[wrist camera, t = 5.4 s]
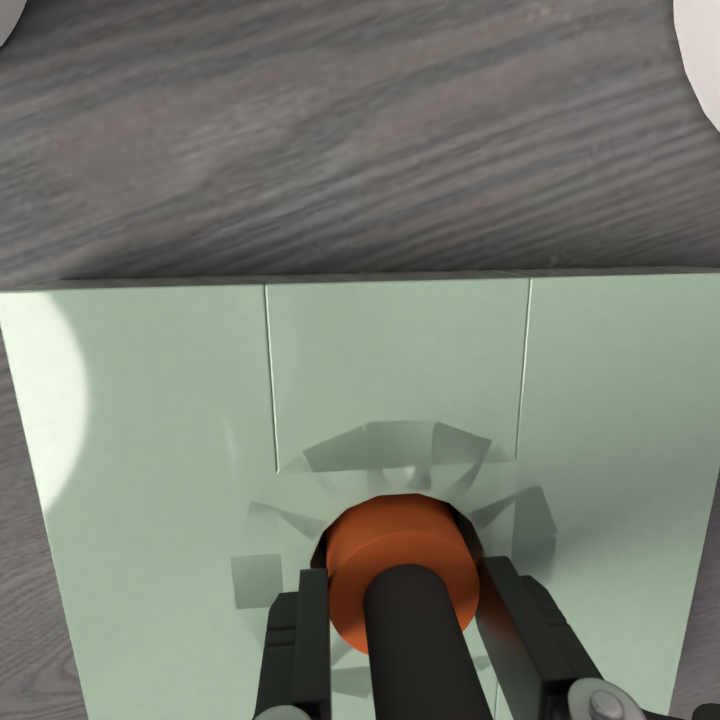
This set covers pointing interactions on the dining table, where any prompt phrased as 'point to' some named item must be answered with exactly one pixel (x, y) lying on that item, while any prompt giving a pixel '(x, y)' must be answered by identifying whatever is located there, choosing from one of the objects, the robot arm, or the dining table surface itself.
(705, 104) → the cup
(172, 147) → the dining table surface
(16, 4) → the mug
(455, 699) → the plug
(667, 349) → the green drain plate
